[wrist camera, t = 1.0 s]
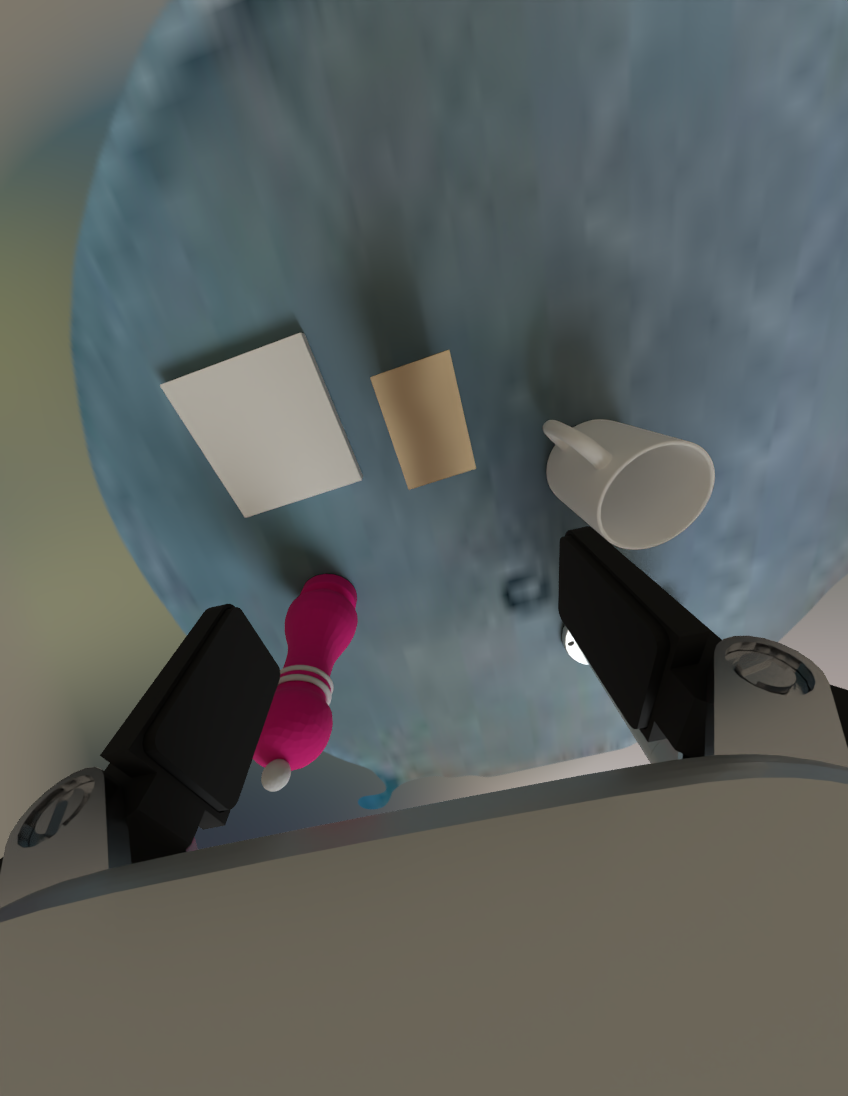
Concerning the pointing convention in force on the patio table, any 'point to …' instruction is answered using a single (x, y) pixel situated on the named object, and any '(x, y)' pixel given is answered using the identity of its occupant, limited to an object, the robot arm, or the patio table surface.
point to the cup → (628, 480)
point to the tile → (267, 425)
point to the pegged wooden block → (425, 419)
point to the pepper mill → (306, 678)
